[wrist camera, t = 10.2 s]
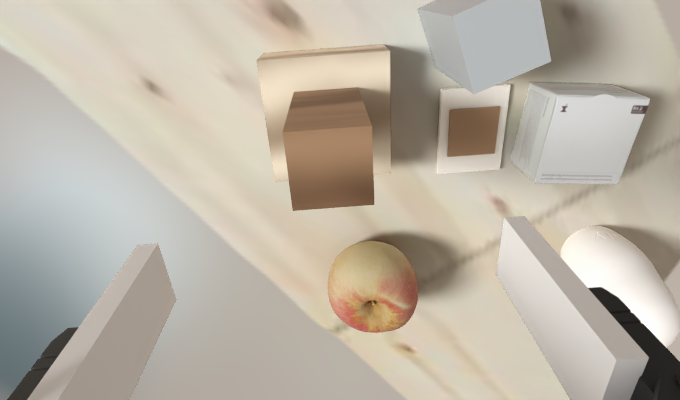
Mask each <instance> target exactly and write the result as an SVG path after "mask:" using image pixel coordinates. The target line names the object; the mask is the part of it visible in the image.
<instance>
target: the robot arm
mask: <svg viewBox="0 0 680 400" xmlns="http://www.w3.org/2000/svg"><path fill="white" fill-rule="evenodd" d="M496 276H497V278H498V280H499V281H500V283H501V285H502V286H503V288H504V290H505V291H506V293H507V295H508V296H509V298H510V300H511V301H512V303H513V305H514V306H515V308H516V310H517V311H518V313H519V315H520V316H521V318H522V320H523V321H524V323H525V325H526V326H527V328H528V330H529V331H530V333H531V335H532V336H533V338H534V340H535V341H536V343H537V345H538V346H539V348H540V350H541V351H542V353H543V355H544V356H545V358H546V360H547V361H548V363H549V365H550V366H551V368H552V370H553V371H554V373H555V375H556V376H557V378H558V380H559V381H560V383H561V385H562V386H563V388H564V390H565V391H566V393H567V395H568V396H569V398H570V400H680V362H679V361H678V360H677V359H676V358H675V356H674V355H673V354H672V353H671V352H670V351H669V350H668V349H667V348H666V347H665V346H664V345H663V344H662V343H661V342H660V341H659V340H658V339H657V338H656V336H655V335H654V334H653V333H652V332H651V331H650V330H649V329H648V328H647V327H646V326H645V325H644V324H641V321H640V320H639V319H638V318H637V316H636V315H635V314H634V313H631V310H630V309H629V308H628V307H627V306H626V305H625V304H624V303H623V302H622V301H621V300H620V299H619V298H618V297H617V296H615V295H614V294H612V293H610V292H609V291H607V290H605V289H604V288H602V287H594V288H587V287H586V285H585V284H584V283H583V282H582V281H581V280H580V279H579V277H578V276H577V275H576V274H575V273H574V272H573V271H572V269H571V268H570V267H569V266H568V265H567V264H566V263H565V262H564V260H563V259H562V258H561V257H560V256H559V255H558V254H557V252H556V251H555V250H554V249H553V248H552V247H551V246H550V245H549V243H548V242H547V241H546V240H545V239H544V238H543V237H542V235H541V234H540V233H539V232H538V231H537V230H536V229H535V227H534V226H533V225H532V224H531V223H530V222H529V221H528V220H527V218H526V217H525V216H519V217H506V218H504V223H503V230H502V237H501V244H500V251H499V258H498V265H497V272H496ZM175 301H176V297H175V294H174V291H173V288H172V285H171V282H170V279H169V276H168V273H167V270H166V267H165V264H164V260H163V257H162V254H161V251H160V248H159V245H158V244H144V245H137V247H136V248H135V249H134V251H133V252H132V254H131V255H130V257H129V258H128V259H127V261H126V262H125V263H124V265H123V266H122V268H121V269H120V270H119V272H118V273H117V275H116V276H115V277H114V279H113V280H112V282H111V283H110V284H109V286H108V287H107V289H106V290H105V292H104V293H103V294H102V296H101V297H100V299H99V300H98V301H97V303H96V304H95V305H94V307H93V308H92V310H91V311H90V312H89V314H88V315H87V317H86V318H85V319H84V321H83V322H82V324H81V325H80V327H77V328H68V329H66V330H65V331H64V332H63V333H62V334H60V335H59V336H58V337H57V338H55V339H54V340H53V341H52V342H51V343H50V344H49V346H48V347H47V348H46V350H45V351H44V352H43V353H42V355H41V358H40V359H38V360H37V361H36V363H35V364H34V365H33V367H32V370H31V371H29V372H28V373H27V374H26V376H25V377H24V378H23V380H22V381H21V383H20V384H19V385H18V386H17V388H16V389H15V390H14V392H13V393H12V394H11V395H10V397H9V398H8V399H7V400H130V398H131V396H132V394H133V391H134V389H135V387H136V385H137V382H138V381H139V379H140V376H141V374H142V372H143V370H144V368H145V366H146V364H147V361H148V359H149V357H150V355H151V353H152V350H153V349H154V346H155V344H156V342H157V340H158V338H159V336H160V333H161V331H162V329H163V327H164V325H165V323H166V321H167V318H168V316H169V314H170V312H171V310H172V308H173V305H174V303H175Z"/></svg>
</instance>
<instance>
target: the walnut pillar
mask: <svg viewBox="0 0 680 400" xmlns="http://www.w3.org/2000/svg"><path fill="white" fill-rule="evenodd" d="M282 133H283V141H284V148H285V155H286V163H287V170H288V178H289V185H290V193H291V200H292V208H293V211H295V210H308V209H322V208H335V207H349V206H362V205H374V180H373V144H372V124H371V122H370V119H369V116H368V113H367V110H366V108H365V105H364V102H363V99H362V97H361V94H360V91H359V88H358V87H354V88H341V89H327V90H313V91H300V92H294V93H293V96H292V100H291V103H290V107H289V111H288V114H287V118H286V121H285V125H284V128H283V132H282Z"/></svg>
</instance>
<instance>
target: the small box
mask: <svg viewBox="0 0 680 400" xmlns="http://www.w3.org/2000/svg"><path fill="white" fill-rule="evenodd" d="M649 103H650V98H649V97H646V96H643V95H641V94H638V93H635V92H632V91H629V90H626V89H624V88H621V87H618V86H615V85H611V84H586V83H550V82H530V83H529V87H528V92H527V96H526V100H525V104H524V108H523V112H522V116H521V120H520V124H519V128H518V132H517V136H516V140H515V144H514V148H513V152H512V156H511V162H512V163H513V164H514V165H515V166H516V167H517V168H519V169H520V170H521V171H522V172H523V173H524V174H525V175H526V176H527V177H529V178H530V179H531V180H532V181H533V182H534V183H537V184H618V182H619V180H620V177H621V175H622V172H623V170H624V167H625V165H626V162H627V159H628V157H629V154H630V151H631V149H632V146H633V144H634V141H635V138H636V136H637V133H638V131H639V128H640V126H641V123H642V121H643V118H644V115H645V113H646V110H647V108H648V105H649Z"/></svg>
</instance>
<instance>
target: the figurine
mask: <svg viewBox="0 0 680 400" xmlns="http://www.w3.org/2000/svg"><path fill="white" fill-rule="evenodd" d="M560 257H561V258H562V259H563V260H564V262H565V263H566V264H567V265H568V266H569V267H570V268H571V269H572V271H573V272H574V273H575V274H576V275H577V276H578V277H579V279H580V280H581V281H582V282H583V283H584V284H585V285H586V287H587V288H594V287H602V288H604V289H605V290H607V291H609V292H610V293H612V294H614V295H615V296H617V297H618V298H619V299H620V300H621V301H622V302H623V303H624V304H625V305H626V306H627V307H628V308H629V309H630V310H631V313H634V314H635V315H636V316H637V318H638V319H639V320H640V321H641V324H644V325H645V326H646V327H647V328H648V329H649V330H650V331H651V332H652V333H653V334H654V335H655V336H656V338H657V339H658V340H659V341H660V342H661V343H662V344H663V345H664V346H665V347H668V346H669V345H670V344H672V343H673V342H674V340H675V339H676V338H677V336H678V335H679V332H680V312H679V309H678V306H677V304H676V302H675V300H674V298H673V296H672V294H671V292H670V290H669V289H668V287H667V286H666V284H665V283H664V282H663V280H662V279H661V277H660V276H659V274H658V272H657V271H656V269H655V267H654V266H653V264H652V263H651V262H650V260H649V259H648V258H647V257H646V256H645V254H644V253H643V252H642V251H641V250H640V249H639V248H637V247H636V246H635V245H634V244H633V243H632V242H630V241H629V240H628V239H626V238H625V237H623V236H622V235H620V234H618V233H617V232H615V231H613V230H611V229H608V228H606V227H603V226H589V227H585V228H582V229H580V230H578V231H576V232H575V233H573V234H572V235H571V236H570V237H569V238H568V239H567V240H566V241H565V243H564V244H563V246H562V249H561V253H560Z"/></svg>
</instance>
